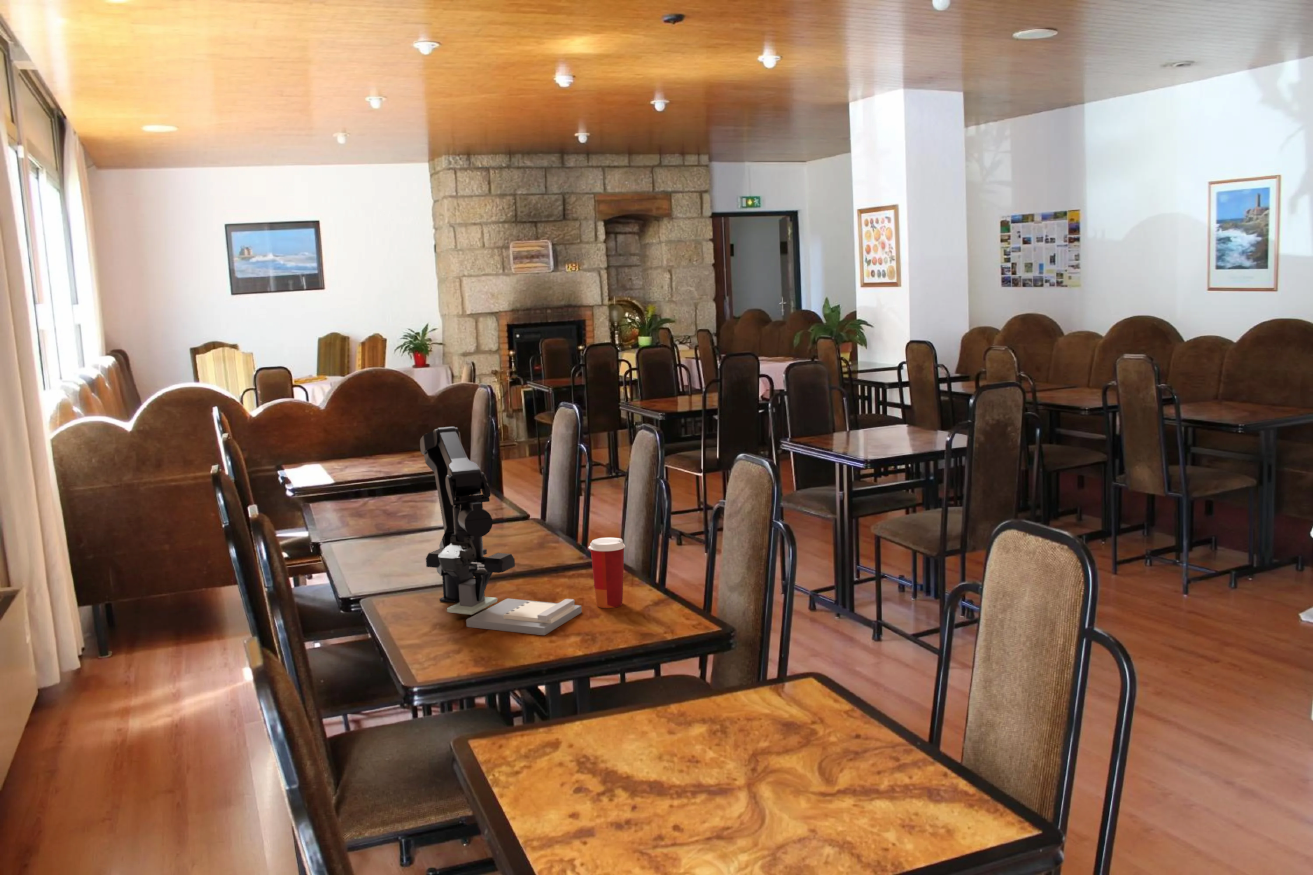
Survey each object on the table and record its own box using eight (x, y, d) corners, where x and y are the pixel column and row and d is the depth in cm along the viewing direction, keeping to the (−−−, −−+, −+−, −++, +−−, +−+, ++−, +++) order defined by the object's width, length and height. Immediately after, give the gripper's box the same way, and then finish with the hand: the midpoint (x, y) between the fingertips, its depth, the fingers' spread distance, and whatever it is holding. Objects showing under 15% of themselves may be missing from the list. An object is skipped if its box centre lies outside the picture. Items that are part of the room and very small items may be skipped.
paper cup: (629, 599, 241) (627, 536, 239) (624, 609, 233) (622, 544, 231) (593, 599, 242) (591, 536, 240) (588, 609, 234) (585, 545, 232)
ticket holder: (466, 626, 225) (465, 610, 224) (507, 605, 239) (506, 590, 239) (544, 635, 218) (543, 618, 217) (581, 612, 232) (581, 597, 232)
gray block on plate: (447, 612, 230) (445, 587, 229) (473, 599, 239) (472, 575, 238) (471, 614, 228) (470, 589, 227) (497, 601, 237) (496, 577, 236)
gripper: (407, 533, 228) (412, 607, 230) (485, 538, 220) (489, 614, 222) (439, 522, 238) (443, 592, 240) (514, 527, 230) (518, 599, 232)
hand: (472, 600), depth 233 cm, fingers closed on gray block on plate, 3 cm apart
